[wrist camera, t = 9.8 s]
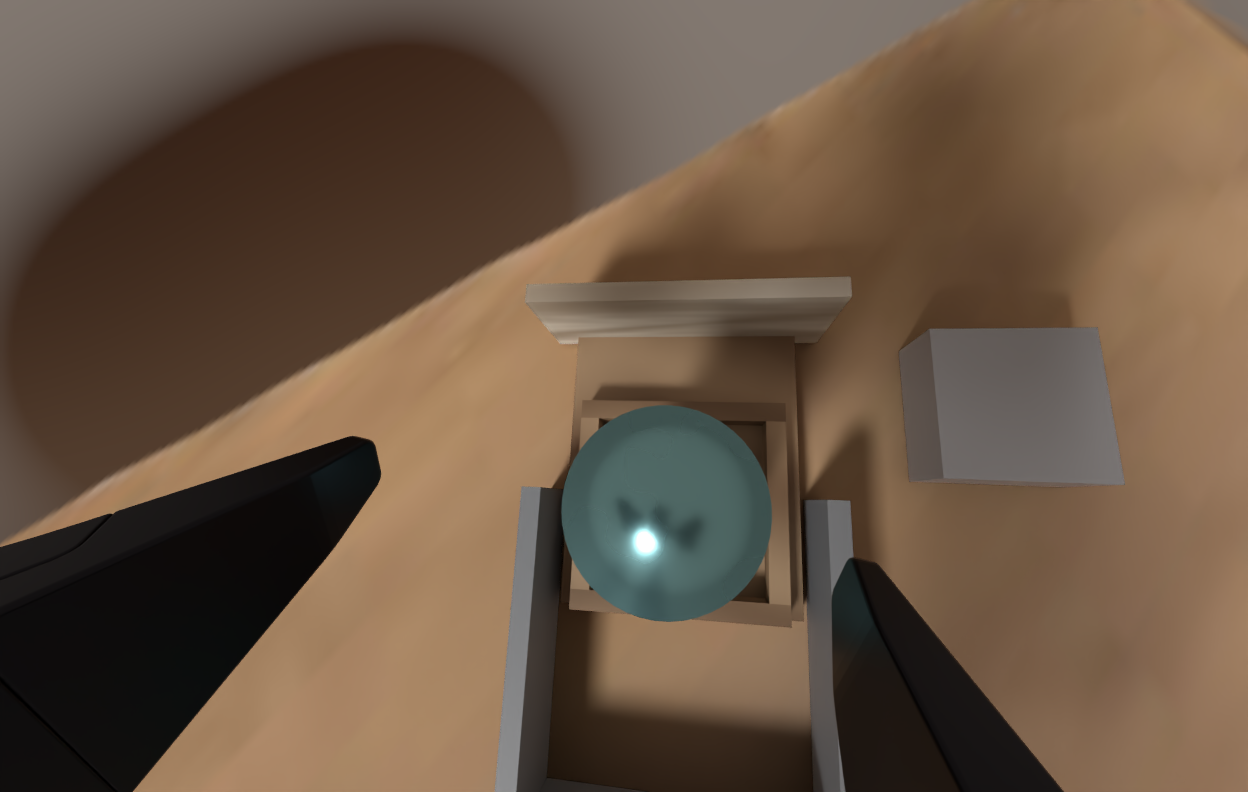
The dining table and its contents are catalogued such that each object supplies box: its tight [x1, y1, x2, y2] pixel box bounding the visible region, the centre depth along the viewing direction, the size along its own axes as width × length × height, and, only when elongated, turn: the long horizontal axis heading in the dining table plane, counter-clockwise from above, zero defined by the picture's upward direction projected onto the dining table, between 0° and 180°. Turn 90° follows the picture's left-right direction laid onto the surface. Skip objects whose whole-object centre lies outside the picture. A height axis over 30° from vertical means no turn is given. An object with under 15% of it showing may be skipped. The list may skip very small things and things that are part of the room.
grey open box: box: [495, 487, 853, 792], centre depth 19 cm, size 13×13×4 cm
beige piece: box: [525, 277, 852, 628], centre depth 20 cm, size 13×13×5 cm
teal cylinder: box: [561, 405, 772, 622], centre depth 16 cm, size 5×5×10 cm
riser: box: [899, 327, 1125, 487], centre depth 20 cm, size 6×6×3 cm
